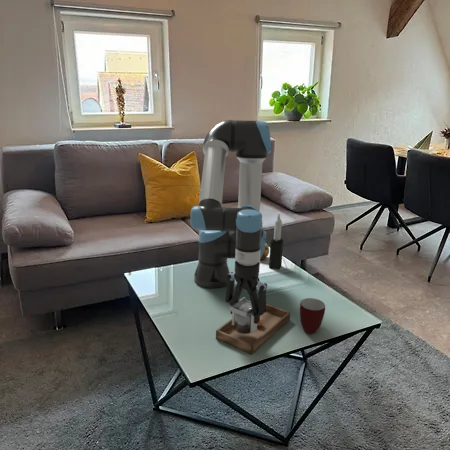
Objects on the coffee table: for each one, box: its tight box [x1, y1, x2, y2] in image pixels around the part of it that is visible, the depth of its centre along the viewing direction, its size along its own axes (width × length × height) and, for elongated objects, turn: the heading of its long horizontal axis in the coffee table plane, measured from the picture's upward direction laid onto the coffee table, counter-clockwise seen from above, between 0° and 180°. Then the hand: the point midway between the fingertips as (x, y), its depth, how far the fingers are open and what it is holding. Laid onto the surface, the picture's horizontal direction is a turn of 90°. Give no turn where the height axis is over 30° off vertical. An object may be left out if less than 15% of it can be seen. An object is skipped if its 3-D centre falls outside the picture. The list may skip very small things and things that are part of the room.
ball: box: [257, 318, 263, 326], centre depth 139 cm, size 3×3×3 cm
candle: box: [268, 213, 284, 271], centre depth 182 cm, size 5×5×25 cm
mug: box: [299, 297, 326, 335], centre depth 138 cm, size 11×8×10 cm
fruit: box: [260, 242, 270, 260], centre depth 193 cm, size 8×8×8 cm
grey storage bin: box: [229, 296, 253, 334], centre depth 131 cm, size 6×8×8 cm
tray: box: [215, 303, 291, 356], centre depth 138 cm, size 14×25×3 cm, turn 144°
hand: (244, 327), depth 133 cm, fingers closed on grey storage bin, 6 cm apart
